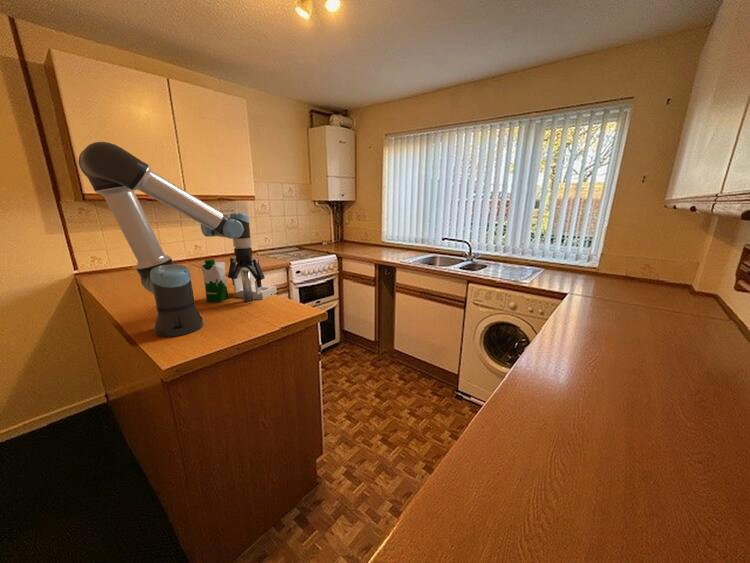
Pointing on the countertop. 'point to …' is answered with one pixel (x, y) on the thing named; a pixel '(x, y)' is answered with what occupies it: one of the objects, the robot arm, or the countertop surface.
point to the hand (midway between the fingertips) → (247, 292)
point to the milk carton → (214, 280)
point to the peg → (247, 285)
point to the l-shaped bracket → (265, 289)
